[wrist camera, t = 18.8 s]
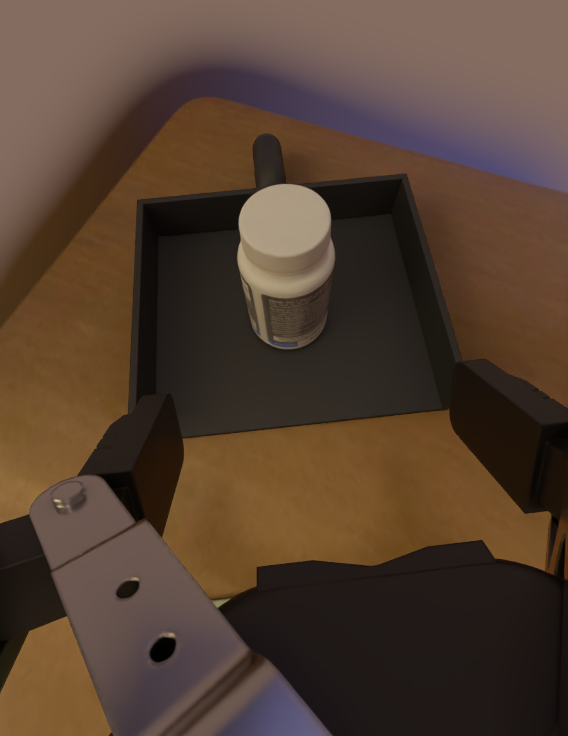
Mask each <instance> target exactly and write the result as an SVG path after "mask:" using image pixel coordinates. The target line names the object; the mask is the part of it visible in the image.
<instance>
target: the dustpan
mask: <svg viewBox="0 0 568 736" xmlns="http://www.w3.org/2000/svg"><path fill="white" fill-rule="evenodd" d="M253 158H254V168H255V177H256V187H257V188H253V189H243V190H233V191H223V192H212V193H202V194H192V195H182V196H171V197H161V198H151V199H141V200H137V216H136V240H135V263H134V286H133V310H132V333H131V356H130V380H129V403H128V414H131V413H132V412H133V410H134V408H135V407H136V405H137V403H138V401H139V400H140V398H141V397H142V396H144V395H153V394H162V393H170V394H171V395H172V397H173V400H174V404H175V408H176V413H177V417H178V422H179V427H180V431H181V436H182V438H191V437H200V436H209V435H218V434H227V433H237V432H246V431H255V430H264V429H273V428H282V427H291V426H300V425H309V424H318V423H328V422H337V421H346V420H355V419H364V418H373V417H382V416H391V415H400V414H410V413H419V412H428V411H437V410H446V409H449V408H450V399H451V387H452V374H453V368H454V365H455V364H456V363H457V362H461V361H463V360H462V357H461V353H460V350H459V347H458V343H457V340H456V337H455V333H454V330H453V327H452V323H451V320H450V317H449V313H448V310H447V307H446V303H445V300H444V297H443V293H442V290H441V287H440V283H439V280H438V277H437V273H436V270H435V267H434V264H433V260H432V257H431V254H430V250H429V247H428V244H427V240H426V237H425V234H424V230H423V227H422V224H421V220H420V217H419V214H418V210H417V207H416V204H415V200H414V197H413V194H412V190H411V187H410V184H409V180H408V177H407V174H396V175H386V176H376V177H366V178H356V179H345V180H335V181H325V182H315V183H304V184H294V185H299V186H303V187H306V188H308V189H311V190H312V191H314V192H316V193H317V194H318V195H319V196H320V197H321V198H322V199H323V200H324V201H325V202H326V204H327V206H328V208H329V210H330V214H331V232H330V233H331V240H332V242H333V245H334V250H335V265H334V271H333V277H332V284H331V290H330V297H329V305H328V312H327V319H326V323H325V326H324V328H323V330H322V332H321V333H320V334H319V336H318V337H317V338H316V339H315V340H314V341H312V342H311V343H309V344H308V345H306V346H303V347H300V348H296V349H280V348H276V347H273V346H271V345H269V344H267V343H266V342H264V341H263V340H262V339H261V338H260V337H259V336H258V335H257V334H256V333H255V331H254V329H253V327H252V325H251V321H250V317H249V313H248V307H247V303H246V298H245V293H244V289H243V284H242V280H241V275H240V271H239V267H238V261H237V254H238V248H239V244H240V241H241V237H240V231H239V216H240V212H241V209H242V207H243V206H244V204H245V203H246V201H247V200H248V199H249V198H250V197H251V196H252V195H254V194H255V193H257V192H258V191H260V190H262V189H264V188H267V187H269V186H273V185H278V184H286V178H285V172H284V165H283V158H282V151H281V145H280V142H279V141H278V139H277V138H276V137H275V136H273V135H272V134H262V135H260V136H258V137H257V138H256V140H255V142H254V144H253ZM383 214H388V215H383ZM373 215H378V216H373ZM363 216H368V217H363ZM353 217H358V218H353ZM343 218H348V219H343ZM333 219H338V220H333ZM232 229H238V230H232ZM222 230H228V231H222ZM212 231H218V232H212ZM202 232H208V233H202ZM192 233H198V234H192ZM182 234H188V235H182ZM172 235H178V236H172ZM162 236H168V237H162Z"/></svg>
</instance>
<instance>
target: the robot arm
mask: <svg viewBox="0 0 568 736" xmlns="http://www.w3.org/2000/svg"><path fill="white" fill-rule="evenodd" d="M450 421H451V425H452V427H453V430H454V431H455V433H456V434H457V435H458V436H459V438H460V439H461V440H462V441H463V442H464V443H465V445H466V446H467V447H468V448H469V449H470V450H471V452H472V453H473V454H474V455H475V456H476V457H477V459H478V460H479V461H480V462H481V463H482V464H483V466H484V467H485V468H486V469H487V470H488V471H489V473H490V474H491V475H492V476H493V477H494V478H495V480H496V481H497V482H498V483H499V484H500V485H501V487H502V488H503V489H504V490H505V491H506V492H507V494H508V495H509V496H510V497H511V498H512V499H513V501H514V502H515V503H516V504H517V505H518V506H519V507H520V509H521V510H522V511H523V512H524V513H525V514H527V513H536V512H544V511H549V512H550V513H551V519H550V523H549V528H548V540H547V551H546V562H545V571H543V570H540V569H537V568H534V567H532V566H528V565H525V564H521V563H517V562H513V561H508V560H503V559H495V558H494V557H493V555H492V554H491V552H490V551H489V549H488V548H487V546H486V545H485V543H484V542H483V540H478V541H470V542H462V543H453V544H445V545H436V546H428V547H425V548H422V549H420V550H417V551H414V552H412V553H409V554H406V555H404V556H401V557H398V558H396V559H393V560H390V561H388V562H385V563H382V564H379V565H375V566H365V565H355V564H345V563H335V562H325V561H315V560H311V561H303V562H294V563H286V564H278V565H269V566H261V567H257V586H256V587H254V588H251V589H249V590H246V591H244V592H242V593H240V594H238V595H236V596H234V597H233V598H231V599H230V600H228V601H227V602H225V603H223V604H222V605H221V606H219V607H218V608H217V607H216V606H215V604H214V603H213V602H212V601H211V599H210V598H209V597H208V596H207V594H206V593H205V592H204V591H203V589H202V588H201V587H200V586H199V584H198V583H197V582H196V581H195V579H194V578H193V577H192V576H191V574H190V573H189V572H188V570H187V569H186V568H185V567H184V565H183V564H182V563H181V562H180V560H179V559H178V558H177V557H176V555H175V554H174V553H173V552H172V550H171V549H170V548H169V547H168V545H167V544H166V543H165V542H164V540H163V539H162V536H163V532H164V528H165V525H166V521H167V518H168V514H169V511H170V507H171V504H172V500H173V497H174V493H175V489H176V486H177V482H178V479H179V475H180V472H181V468H182V465H183V459H184V447H183V440H182V436H181V431H180V427H179V422H178V417H177V413H176V408H175V404H174V400H173V397H172V395H171V394H170V393H162V394H153V395H144V396H142V397H141V398H140V400H139V401H138V403H137V405H136V407H135V408H134V410H133V412H132V413H131V414H127V415H123V416H122V417H121V418H119V419H118V420H117V421H115V422H114V423H113V424H111V425H110V427H109V428H108V430H107V431H106V433H105V434H104V436H103V439H101V440H100V442H99V443H98V445H97V446H96V447H97V449H94V451H93V453H92V454H91V456H90V457H89V459H88V460H87V462H86V463H85V465H84V466H83V468H82V469H81V471H80V472H79V474H78V475H77V476H76V477H72V478H69V479H66V480H63V481H61V482H59V483H57V484H55V485H53V486H51V487H50V488H48V489H47V490H45V491H44V492H43V493H41V494H40V495H39V496H38V497H37V498H36V499H35V500H34V502H33V503H32V505H31V507H30V511H29V515H26V516H23V517H20V518H16V519H13V520H10V521H7V522H4V523H1V524H0V692H1V690H2V688H3V686H4V684H5V681H6V679H7V677H8V675H9V673H10V671H11V669H12V667H13V664H14V662H15V660H16V658H17V656H18V654H19V652H20V650H21V647H22V645H23V643H24V641H25V639H26V637H27V635H28V632H29V631H31V630H33V629H35V628H38V627H40V626H43V625H45V624H48V623H50V622H53V621H55V620H58V619H60V618H63V617H65V616H67V617H68V619H69V622H70V625H71V627H72V630H73V632H74V635H75V638H76V640H77V643H78V645H79V648H80V651H81V653H82V656H83V658H84V661H85V664H86V666H87V669H88V671H89V674H90V676H91V679H92V682H93V684H94V687H95V689H96V692H97V695H98V697H99V700H100V702H101V705H102V708H103V710H104V713H105V715H106V718H107V721H108V723H109V726H110V728H111V731H112V733H111V734H110V735H109V736H568V408H566V407H565V406H563V405H562V404H560V403H559V402H557V401H556V400H554V399H550V396H548V395H547V394H545V393H544V392H542V391H539V389H538V388H536V387H535V386H533V385H532V384H530V383H529V382H527V381H526V380H523V379H520V378H518V377H515V376H512V375H509V374H507V373H505V372H504V371H503V370H501V369H500V368H498V367H497V366H495V365H494V364H492V363H491V362H489V361H488V360H486V359H479V360H470V361H461V362H457V363H456V364H455V365H454V368H453V374H452V387H451V399H450Z"/></svg>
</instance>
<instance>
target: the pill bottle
mask: <svg viewBox="0 0 568 736" xmlns="http://www.w3.org/2000/svg"><path fill="white" fill-rule="evenodd" d="M239 231H240V237H241V241H240V244H239V248H238V254H237V261H238V267H239V271H240V275H241V280H242V284H243V289H244V293H245V298H246V303H247V307H248V313H249V317H250V321H251V325H252V327H253V329H254V331H255V333H256V334H257V335H258V336H259V337H260V338H261V339H262V340H263V341H264V342H266V343H267V344H269V345H271V346H273V347H276V348H280V349H296V348H300V347H303V346H306V345H308V344H309V343H311V342H312V341H314V340H315V339H316V338H317V337H318V336H319V334H320V333H321V332H322V330H323V328H324V326H325V323H326V319H327V312H328V305H329V297H330V290H331V284H332V277H333V271H334V265H335V250H334V245H333V242H332V240H331V233H330V232H331V214H330V210H329V208H328V206H327V204H326V202H325V201H324V200H323V199H322V198H321V197H320V196H319V195H318V194H317V193H316V192H314V191H312V190H311V189H308V188H306V187H303V186H299V185H293V184H278V185H273V186H269V187H267V188H264V189H262V190H260V191H258V192H257V193H255V194H254V195H252V196H251V197H250V198H249V199H248V200H247V201H246V203H245V204H244V206H243V207H242V209H241V212H240V216H239Z"/></svg>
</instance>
